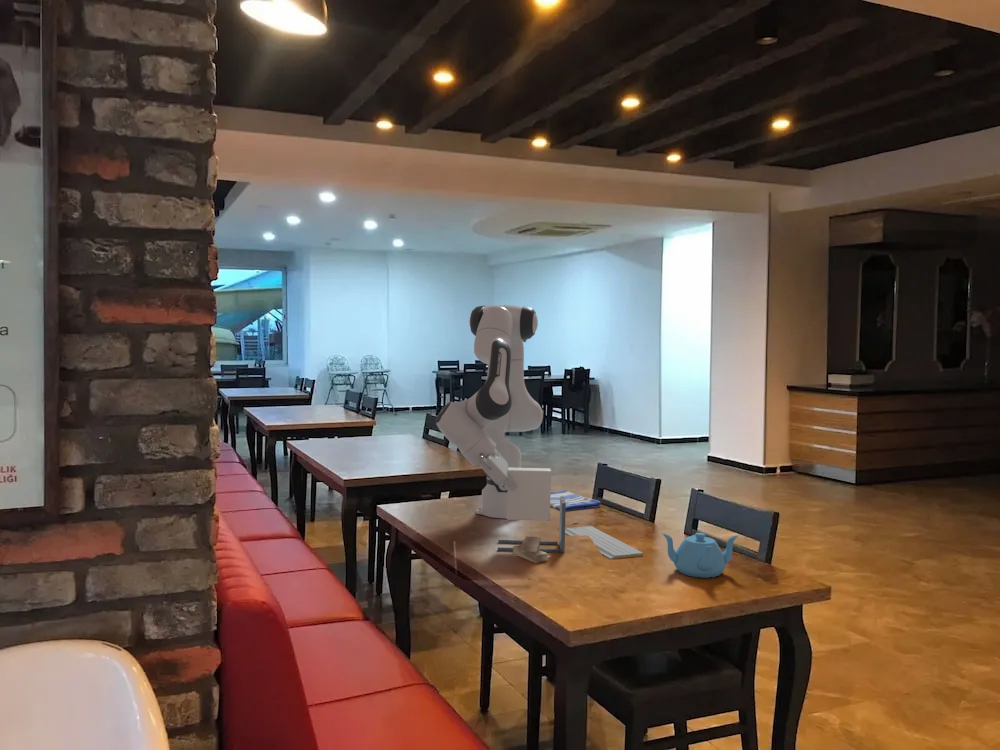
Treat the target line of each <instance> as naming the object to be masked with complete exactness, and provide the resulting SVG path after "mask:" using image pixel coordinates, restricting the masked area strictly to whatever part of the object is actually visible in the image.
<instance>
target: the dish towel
mask: <svg viewBox="0 0 1000 750" xmlns="http://www.w3.org/2000/svg"><path fill="white" fill-rule="evenodd" d="M560 496H563V497H564V499H565V502H566V512H571V511H579V510H580V511H581V510H590V509H598V508H601V505H602V503H601V501H600V500H598V499H595V498H590V497H587V496H586V497H584V496H582V495H581V494H578V493H574V492H570V491H568V490H567V489H563V490H555V491H554V490H553V491H552V490H551V497H550V508H553V509H555V510H559V511H560Z"/></svg>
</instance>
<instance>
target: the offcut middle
mask: <svg viewBox="0 0 1000 750" xmlns="http://www.w3.org/2000/svg"><path fill="white" fill-rule="evenodd" d="M512 548H513V552H512V554H515V555H518V556H517V557H519V556H520V557H519V558H522V559H525V560H527V561H530V562H532V563H533V564H536V563H537V564H538V563H543V562H548V559H547V555H549V554H548V553H549V552H543V551H540V550H537V553H528V552H521V548H522V544H517V545H513V546H512Z"/></svg>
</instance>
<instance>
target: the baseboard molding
mask: <svg viewBox="0 0 1000 750" xmlns="http://www.w3.org/2000/svg"><path fill="white" fill-rule="evenodd" d="M589 524H590V525H589V526H588V525H587V526H582V525H583V524H579V522H575V523H572V525H580V526H578V527H577V526H576V527H568V526H570V525H569V524H567V525H566V526H567V527H565V535H567V536H570V537H571V536H574V537H577V536H587V537H589V538H590V540H591V541H592V542H593V544H594V545H595V547H596V548H597V549H598V551H599V552H600V553H601V555H602V556H604V558H605V557H606V558H607V559H609V560H616V559H626V558H635V557H636V558H637V557H643V556H644V552H643V551H640V550H638V549H637V548H635V547H633V546H631V545H629V544H626V543H625V542H623V541H621V540H619V539H618V538H615V537H613V536H612V535H609V534H608V533H605V532H603V531H602V530H599V529H598V528H596V527H594V526H592V523H589Z"/></svg>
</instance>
